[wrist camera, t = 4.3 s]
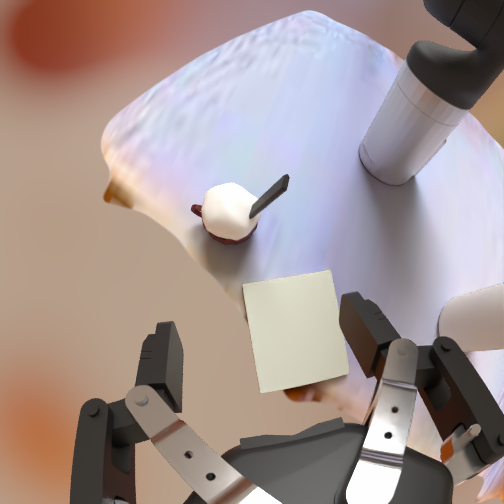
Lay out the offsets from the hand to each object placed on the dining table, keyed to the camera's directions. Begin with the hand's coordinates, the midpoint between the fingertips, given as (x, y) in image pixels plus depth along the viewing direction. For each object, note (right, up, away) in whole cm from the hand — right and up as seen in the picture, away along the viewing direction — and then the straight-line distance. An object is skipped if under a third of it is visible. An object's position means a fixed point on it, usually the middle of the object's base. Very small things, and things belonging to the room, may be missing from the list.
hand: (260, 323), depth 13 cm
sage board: (+4, -5, +17) cm, 18 cm away
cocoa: (-3, +6, +21) cm, 22 cm away
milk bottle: (+28, -7, +18) cm, 34 cm away
